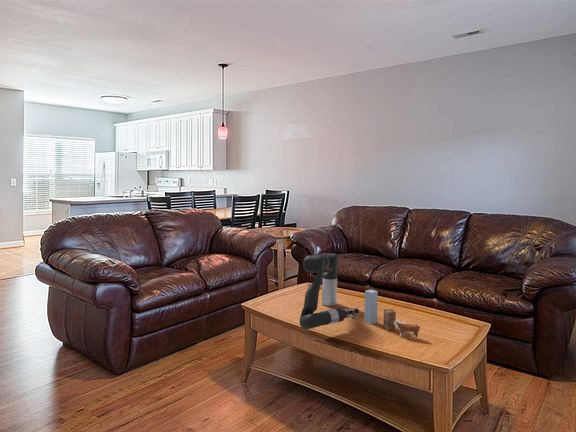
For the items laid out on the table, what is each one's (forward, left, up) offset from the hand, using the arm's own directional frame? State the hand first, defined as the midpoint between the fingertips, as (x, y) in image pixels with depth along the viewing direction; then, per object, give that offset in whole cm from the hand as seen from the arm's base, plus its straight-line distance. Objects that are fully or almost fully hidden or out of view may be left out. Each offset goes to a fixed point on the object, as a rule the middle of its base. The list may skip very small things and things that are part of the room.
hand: (357, 310), depth 230 cm
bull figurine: (+25, -11, -9) cm, 29 cm away
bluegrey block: (+7, +7, -9) cm, 13 cm away
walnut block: (+17, -1, -9) cm, 19 cm away
